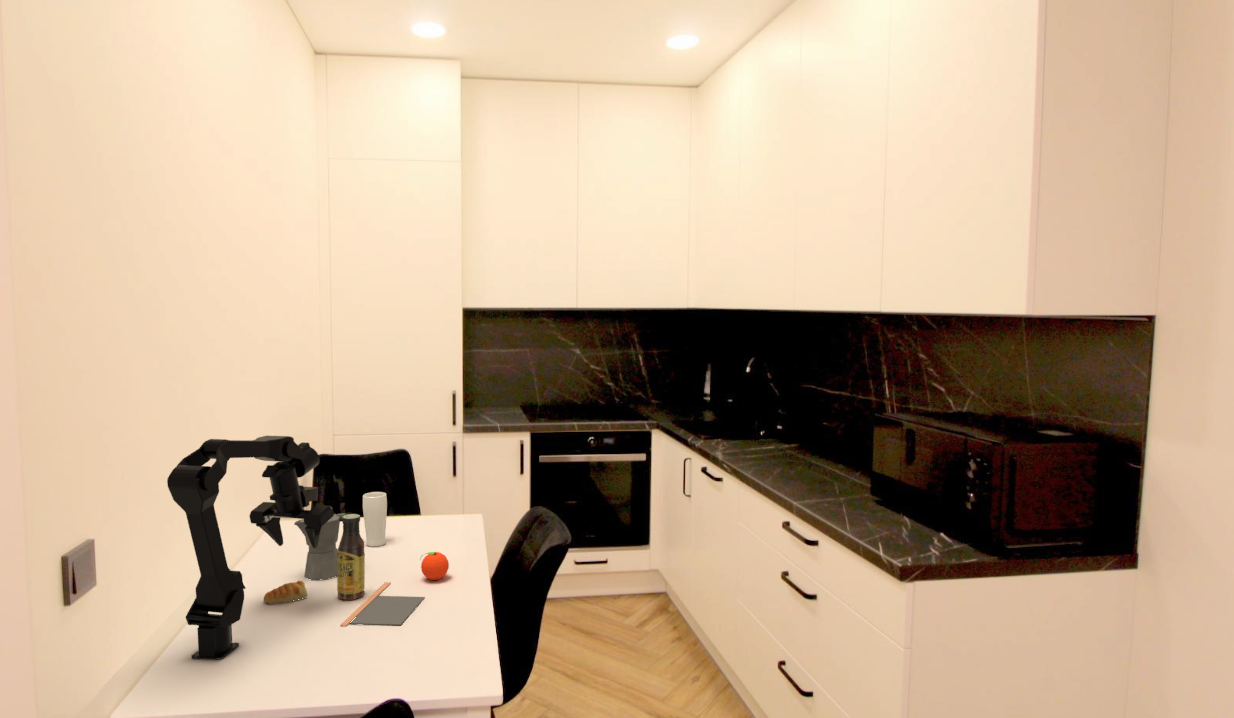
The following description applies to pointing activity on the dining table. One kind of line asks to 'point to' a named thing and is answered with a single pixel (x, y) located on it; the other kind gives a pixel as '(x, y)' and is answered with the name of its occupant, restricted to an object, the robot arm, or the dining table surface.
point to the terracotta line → (366, 603)
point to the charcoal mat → (388, 610)
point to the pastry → (286, 593)
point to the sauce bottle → (351, 560)
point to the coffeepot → (323, 549)
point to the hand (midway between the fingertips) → (298, 546)
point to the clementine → (434, 565)
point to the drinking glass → (375, 518)
